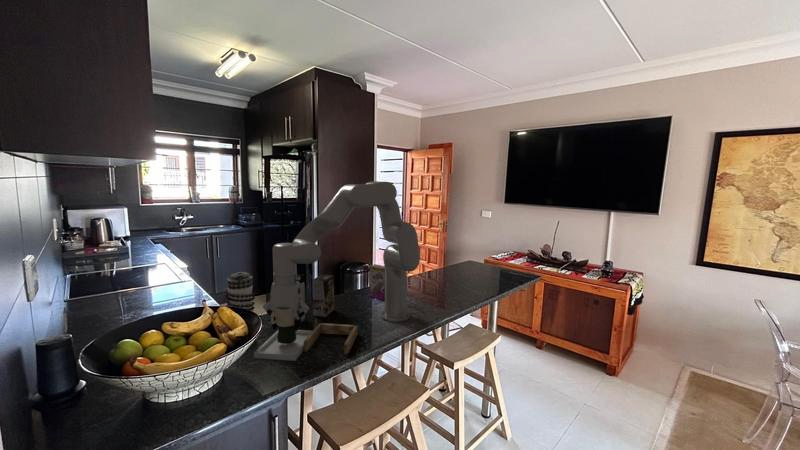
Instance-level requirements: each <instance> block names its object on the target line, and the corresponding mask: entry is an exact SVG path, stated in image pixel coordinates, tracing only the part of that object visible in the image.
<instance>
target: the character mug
mask: <svg viewBox="0 0 800 450" xmlns="http://www.w3.org/2000/svg"><path fill="white" fill-rule="evenodd" d="M275 310H276V311H275V314H273V315H271V318H270V323H271V325H272V324H275V323H276V324H277V325H278V329H279V330H278V329H277V330H278V340H277V341H278V342H279V343H283V344H289V343H292V342H294V341H295V340H296V331H295V323H294V321H295V319H296V318H295V316H294V313H292V310H291V309H278V308H276V309H275ZM299 310H300V311H301V308H300V309H299ZM274 317H275V321H274Z"/></svg>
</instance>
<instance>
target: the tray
mask: <svg viewBox="0 0 800 450" xmlns="http://www.w3.org/2000/svg"><path fill="white" fill-rule="evenodd" d="M278 330H279V328H278V329H277V330H276V331H275V332H274V333H273V334H272V335H271V336H270V337H269V338H268V339H266V340H265V342H263V343H262V345H260V346H259V347H258V348H257V349H256V350H255V351H254V352H253V358H254V359H266V360H279V361H291V362H292V361H293V362H296V361H297V360H298V358H299V357H300V356H301V354H302V353H303V352H304V341H305V340H306V338H307V337H308V336H309V335H310V333H311V332H312V331H313V330H305V329H298V330H297V331H296V340H295V341H294V342H292V343H289V344H283V343H279V342H278V341H277V340H278Z"/></svg>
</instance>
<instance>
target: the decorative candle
mask: <svg viewBox="0 0 800 450" xmlns="http://www.w3.org/2000/svg"><path fill="white" fill-rule="evenodd" d="M253 277H254V276H253V275H251V274H250V273H249V272H246V271H238V272H234V273H231V274H230V275H229V277H227V278H226V279H227V280H226V281H227V289H226V290H225V299H226V304H227V305H226V307H227V306H229V307H237V308H243V309H246V310H249V311H252V312H253V313H254V310H255V307H254V305H255V302H254V300H255V298H256V297H254V295H256V294H255V292H254V291H253V290H254V289H255V287H254V286H253V284H252V283H253V280H252V279H253Z"/></svg>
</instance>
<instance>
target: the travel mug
mask: <svg viewBox="0 0 800 450" xmlns="http://www.w3.org/2000/svg"><path fill="white" fill-rule="evenodd" d="M297 276H300V277H301V279H300V280H298V281H297V282H299V283H300V287H301V292H302V301H303V302H304V303H305V304H306V299H305V295H306V293H305V292H306V291H305V289H306V288H305V274H304V273H297ZM302 311H303V308H301V312H302ZM305 321H306V313H305V314H304V315H303V316H302V317H301V323H303V322H305Z"/></svg>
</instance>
